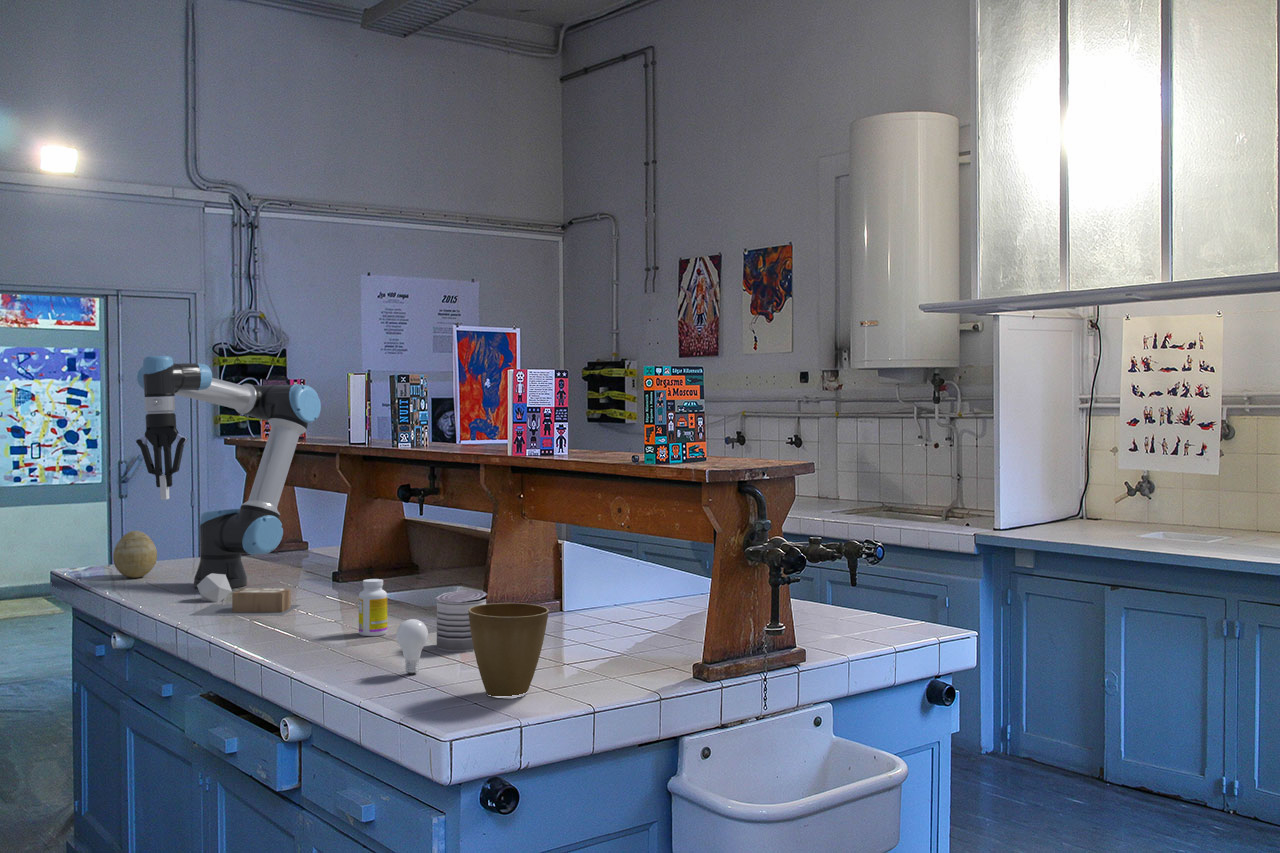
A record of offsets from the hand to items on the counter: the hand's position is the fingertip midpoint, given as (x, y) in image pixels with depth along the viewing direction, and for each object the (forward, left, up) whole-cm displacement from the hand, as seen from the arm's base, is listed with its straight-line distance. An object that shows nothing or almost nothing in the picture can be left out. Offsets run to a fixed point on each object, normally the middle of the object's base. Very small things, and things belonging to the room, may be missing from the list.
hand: (165, 499), depth 294 cm
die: (-5, +12, -29) cm, 32 cm away
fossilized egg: (-50, -30, -29) cm, 65 cm away
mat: (+10, +26, -29) cm, 40 cm away
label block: (+10, +23, -26) cm, 36 cm away
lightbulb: (+79, +83, -29) cm, 118 cm away
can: (+53, +89, -29) cm, 107 cm away
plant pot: (+95, +104, -29) cm, 144 cm away
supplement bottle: (+39, +66, -29) cm, 82 cm away
